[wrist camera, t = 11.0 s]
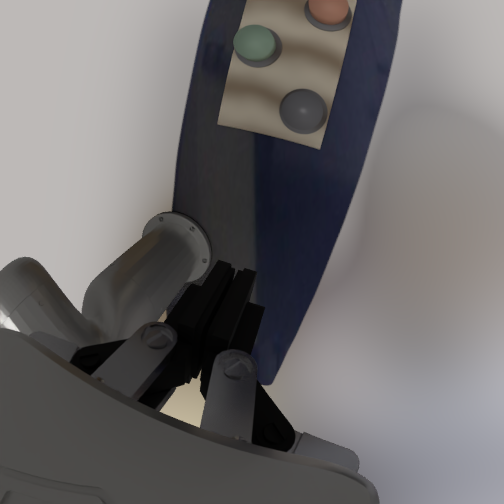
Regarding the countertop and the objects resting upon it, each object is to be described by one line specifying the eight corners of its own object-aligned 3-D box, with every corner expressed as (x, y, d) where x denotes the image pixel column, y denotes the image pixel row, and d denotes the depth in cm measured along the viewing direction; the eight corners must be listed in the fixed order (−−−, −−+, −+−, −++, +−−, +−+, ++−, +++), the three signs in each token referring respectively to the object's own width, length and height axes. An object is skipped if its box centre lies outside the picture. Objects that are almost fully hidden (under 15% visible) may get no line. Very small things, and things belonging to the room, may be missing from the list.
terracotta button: (343, 29, 22) (345, 23, 20) (306, 19, 22) (305, 13, 20) (349, 1, 20) (351, -5, 18) (312, -8, 20) (312, -15, 18)
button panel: (319, 147, 33) (319, 150, 30) (223, 123, 34) (215, 124, 31) (355, 3, 22) (358, -6, 19) (258, -15, 23) (252, -25, 20)
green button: (271, 64, 26) (268, 60, 24) (235, 58, 26) (229, 55, 24) (279, 32, 24) (276, 27, 22) (243, 28, 24) (238, 22, 22)
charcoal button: (317, 134, 29) (317, 135, 27) (280, 123, 29) (277, 124, 27) (326, 99, 27) (327, 97, 25) (288, 89, 27) (286, 86, 25)
